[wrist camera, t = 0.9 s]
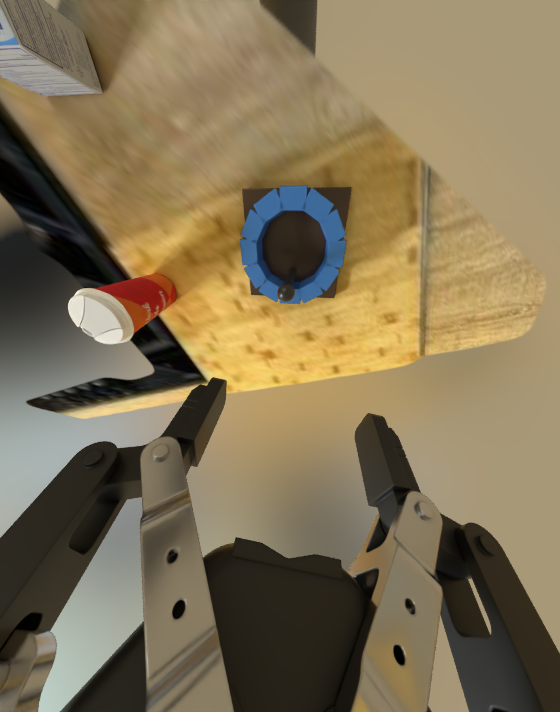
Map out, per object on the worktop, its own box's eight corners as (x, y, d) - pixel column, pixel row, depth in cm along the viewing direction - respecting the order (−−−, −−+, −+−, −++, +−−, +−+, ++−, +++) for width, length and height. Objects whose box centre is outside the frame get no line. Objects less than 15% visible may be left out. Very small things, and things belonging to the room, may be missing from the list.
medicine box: (85, 31, 21) (-26, -61, 14) (105, 97, 24) (20, 46, 17) (20, 36, 22) (-117, -50, 15) (46, 99, 25) (-60, 51, 17)
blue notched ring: (243, 190, 26) (234, 186, 23) (349, 189, 25) (355, 185, 22) (251, 293, 34) (245, 301, 31) (333, 296, 33) (335, 305, 29)
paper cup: (166, 316, 40) (110, 356, 29) (133, 283, 37) (54, 313, 25) (191, 294, 37) (138, 329, 25) (156, 257, 34) (78, 277, 22)
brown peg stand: (244, 189, 27) (202, 171, 16) (350, 188, 26) (379, 167, 15) (252, 292, 35) (227, 325, 24) (333, 295, 34) (345, 332, 23)
